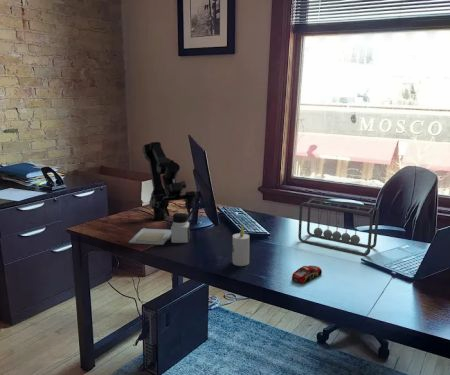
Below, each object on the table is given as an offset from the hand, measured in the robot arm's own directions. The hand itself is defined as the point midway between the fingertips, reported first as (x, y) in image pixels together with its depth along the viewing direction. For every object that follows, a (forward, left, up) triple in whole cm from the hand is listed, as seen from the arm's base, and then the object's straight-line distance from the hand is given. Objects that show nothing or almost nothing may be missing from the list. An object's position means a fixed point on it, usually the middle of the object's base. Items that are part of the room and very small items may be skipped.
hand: (179, 215), depth 172 cm
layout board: (-1, -13, -11) cm, 17 cm away
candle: (+21, +29, -11) cm, 37 cm away
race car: (+30, +53, -11) cm, 62 cm away
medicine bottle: (+1, +1, -11) cm, 11 cm away
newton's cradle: (-2, +67, -11) cm, 68 cm away
